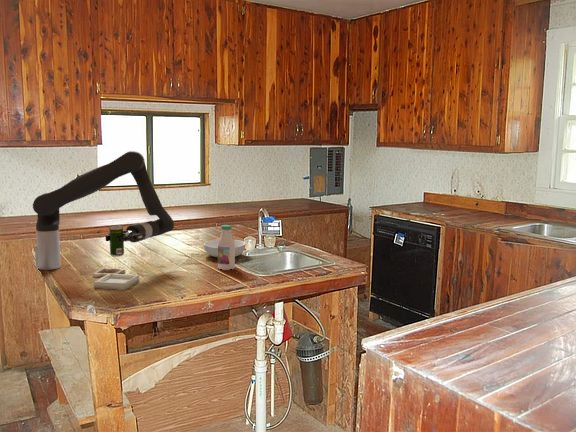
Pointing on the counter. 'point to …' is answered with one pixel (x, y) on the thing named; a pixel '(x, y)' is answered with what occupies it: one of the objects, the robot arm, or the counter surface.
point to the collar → (99, 272)
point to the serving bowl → (212, 247)
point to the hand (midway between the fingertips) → (112, 239)
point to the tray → (116, 281)
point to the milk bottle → (226, 249)
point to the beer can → (116, 247)
